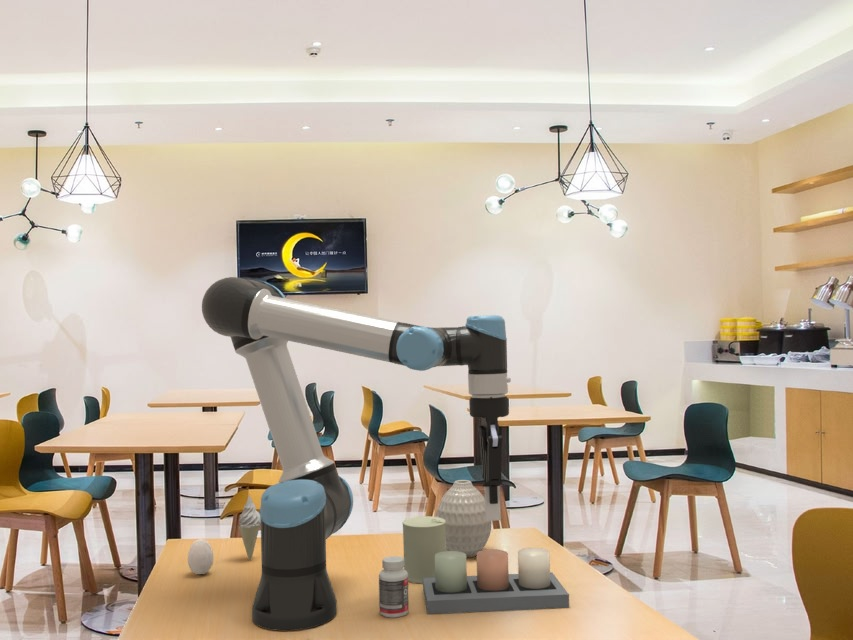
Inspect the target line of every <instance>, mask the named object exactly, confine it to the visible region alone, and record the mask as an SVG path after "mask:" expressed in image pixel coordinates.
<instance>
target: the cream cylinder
mask: <svg viewBox="0 0 853 640" xmlns="http://www.w3.org/2000/svg"><path fill="white" fill-rule="evenodd" d="M550 561H551V560H550V550H548V549H546V548H543V547H524V548H520V549H518V550H517V571H518V572H517V574H518V576H519V585H520V586H522V587H525V588H531V589H540V588H546V587H548V586H550V572H551V563H550Z"/></svg>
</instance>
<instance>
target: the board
mask: <svg viewBox="0 0 853 640" xmlns="http://www.w3.org/2000/svg"><path fill="white" fill-rule="evenodd" d="M422 592H423V596H424V597H423V598H424V603H425V606H426V612H427V613H426V614H427V615H439V614H440V615H442V614H461V613H462V614H463V613H482V612H483V613H485V612H502V611H503V612H504V611H527V610H528V611H529V610H542V609H543V610H546V609H547V610H548V609H550V610H551V609H565V608H566V609H567V608H570V594H569V592H568V591H567V589H566V588H564V586H563V584H562V583H561V582H560V581H559V579H558V578H557V577H556V575H555V574H554V573H553V572H551V571H550V586H548V587H546V588H540V589H531V588H525V587H522V586H520V585H519V576H518V573H510V574H509V587H508V588H506V589H503V590H497V591H490V590H483V589H480V588H479V587H478V586H477V575H467V589H465V590H463V591H460V592H453V593H448V592H441V591H438V590H437V589H436V588H435V578H423V584H422Z"/></svg>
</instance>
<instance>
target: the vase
mask: <svg viewBox="0 0 853 640" xmlns="http://www.w3.org/2000/svg"><path fill="white" fill-rule="evenodd" d="M437 506H438V507H437V509H436V513H435V514H436V515H435V517H439V518H443V519H444V520H445V521H446V551H459V552H463V553H465V554H466V559H469V558H468V557H470V558H474V557H477V556H476V555H477V552H478V551H481V550H484V548H485V546H486V544H487V543H488V541H489V538H490V536H491V531H492V525H493V524H492V522H493V521H487V520H486V514H485V496H484V495H483V494H482V493H481V492H480V490H478V488H477V487H475V486H474V485H473V483H472V481H471V480H467V479H458V480H457V479H456V480H455V481H453V485H452V486H451V487H449V489H448V490H447V491H446V492H445V493H444V494H443V496H442V497H441V499H440V501H439V503H438V505H437Z"/></svg>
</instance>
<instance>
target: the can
mask: <svg viewBox="0 0 853 640" xmlns="http://www.w3.org/2000/svg"><path fill="white" fill-rule="evenodd" d="M402 539H403V540H402V542H403V558H404V564H405V565H404V567H403V569H404V570H406V571H407V573H408V583H413V584H421V585H423V578H435V554H437V553H439V552H443V551H447V550H446V521H445V520H444V519H443V518H439V517H436V516H429V515H427V516H425V515H424V516H423V515H422V516H413V517H408V518H405V519H404V520H403V521H402Z"/></svg>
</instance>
